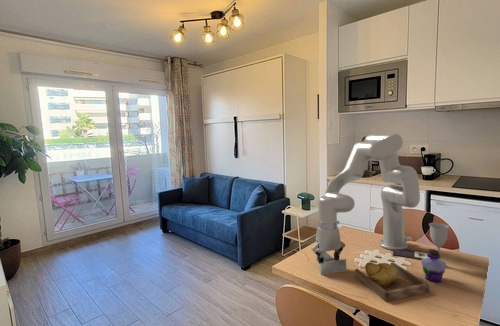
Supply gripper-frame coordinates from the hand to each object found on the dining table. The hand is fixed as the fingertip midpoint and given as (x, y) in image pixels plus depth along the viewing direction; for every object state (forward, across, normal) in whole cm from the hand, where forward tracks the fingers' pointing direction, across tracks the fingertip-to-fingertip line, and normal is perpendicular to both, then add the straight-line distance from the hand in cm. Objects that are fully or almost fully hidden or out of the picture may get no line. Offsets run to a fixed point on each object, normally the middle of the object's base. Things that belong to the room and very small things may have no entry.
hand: (328, 263), depth 122 cm
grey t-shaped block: (+2, 0, -3) cm, 4 cm away
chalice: (+2, -45, +13) cm, 47 cm away
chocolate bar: (+3, -44, +2) cm, 44 cm away
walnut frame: (+2, -16, +18) cm, 24 cm away
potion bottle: (+2, -34, +21) cm, 40 cm away
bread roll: (+3, -15, +17) cm, 23 cm away
